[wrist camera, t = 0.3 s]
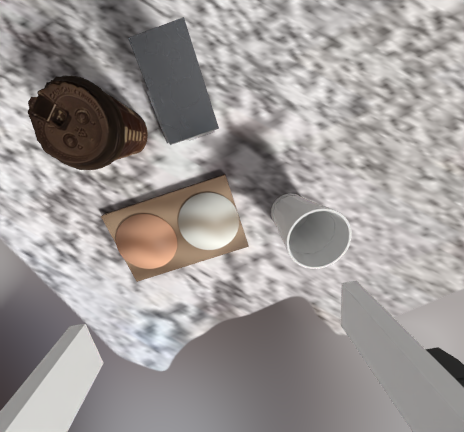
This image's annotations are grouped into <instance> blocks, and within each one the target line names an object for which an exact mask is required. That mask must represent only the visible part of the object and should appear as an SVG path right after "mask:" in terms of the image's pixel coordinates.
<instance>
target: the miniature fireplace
mask: <svg viewBox="0 0 464 432" xmlns="http://www.w3.org/2000/svg"><path fill="white" fill-rule="evenodd" d="M128 39H129V42H130V44H131V47H132V49H133V52H134V54H135V57H136V59H137V62H138V64H139V67H140V70H141V72H142V75H143V77H144V80H145V82H146V85H147V87H148V90H147V94H148V96H149V99H150V101H151V104H152V106H153V109H154V111H155V114H156V116H157V119H158V121H159V124H160V127H161V129H162V132H163V134H164V137H165V139H166V142H167V143H169V144H170V145H172V144H175V143H178V142H181V141H184V140H193V139H196V138H199V137H202V136H205V135H207V134H210V133H213V132H215V131H214V130H216V129H219V127H218V124H217V121H216V118H215V115H214V112H213V108H212V105H211V102H210V99H209V96H208V93H207V89H206V86H205V83H204V80H203V77H202V74H201V70H200V67H199V64H198V61H197V58H196V55H195V51H194V48H193V45H192V42H191V39H190V36H189V32H188V29H187V26H186V23H185V20H184V17H183V18H181V19H178V20H175V21H172V22H170V23H167V24H164V25H162V26H159V27H156V28H154V29H151V30H148V31H145V32H143V33H140V34H137V35H135V36H132V37H129V38H128Z"/></svg>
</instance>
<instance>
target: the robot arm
mask: <svg viewBox="0 0 464 432" xmlns="http://www.w3.org/2000/svg"><path fill="white" fill-rule="evenodd" d="M341 326H342V328H343V329H344V331H345V332H346V334H347V335H348V337H349V338H350V340H351V341H352V343H353V344H354V346H355V347H356V349H357V350H358V352H359V353H360V355H361V356H362V358H363V359H364V361H365V362H366V364H367V365H368V367H369V368H370V370H371V371H372V372H373V374H374V375H375V377H376V378H377V380H378V381H379V383H380V384H381V386H382V387H383V389H384V390H385V392H386V393H387V395H388V396H389V398H390V399H391V401H392V402H393V404H394V405H395V407H396V408H397V410H398V411H399V413H400V414H401V416H402V417H403V419H404V420H405V422H406V423H407V425H408V426H409V428H410V429H411V430H412V432H464V365H463V364H462V363H461V362H460V361H459V360H458V359H456V358H454V357H453V356H451V355H450V354H448V353H446V352H445V351H443V350H441V349H440V348H432V349H424V348H423V347H422V346H421V345H420V344H419V343H418V342H417V341H416V340H415V339H414V338H413V337H412V336H411V335H410V334H409V333H408V332H407V331H406V330H405V329H404V328H403V327H402V326H401V325H400V324H399V323H398V322H397V321H396V320H395V319H394V318H393V317H392V316H391V315H390V314H389V313H388V312H387V311H386V310H385V309H384V308H383V307H382V306H381V305H380V304H379V303H378V302H377V301H376V300H375V299H374V298H373V297H372V296H371V295H370V294H369V293H368V292H367V291H366V290H365V289H364V288H363V287H362V286H361V285H360V284H359V283H358V282H357V281H352V282H346V283H342V294H341ZM102 365H103V361H102V359H101V357H100V355H99V352H98V350H97V348H96V346H95V344H94V342H93V340H92V338H91V335H90V333H89V331H88V329H87V326H86V324H81V325H74V326H70V327H69V328H68V329H67V331H66V332H65V333H64V334H63V335H62V337H61V338H60V339H59V340H58V342H57V343H56V344H55V345H54V346H53V348H52V349H51V350H50V351H49V353H48V354H47V355H46V356H45V357H44V359H43V360H42V361H41V362H40V364H39V365H38V366H37V367H36V369H35V370H34V371H33V372H32V374H31V375H30V376H29V377H28V378H27V380H26V381H25V382H24V383H23V384H22V386H21V387H20V388H19V389H18V391H17V392H16V393H15V394H14V395H13V397H12V398H11V399H10V400H9V402H8V403H7V404H6V405H5V406H4V408H3V409H2V410H1V411H0V432H67V431H68V429H69V427H70V426H71V424H72V422H73V420H74V418H75V416H76V414H77V412H78V410H79V408H80V407H81V405H82V403H83V401H84V399H85V397H86V395H87V393H88V391H89V390H90V388H91V386H92V384H93V382H94V380H95V378H96V376H97V374H98V372H99V371H100V368H101V367H102Z"/></svg>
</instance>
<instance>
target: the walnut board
mask: <svg viewBox="0 0 464 432" xmlns="http://www.w3.org/2000/svg"><path fill="white" fill-rule="evenodd" d="M101 217H102V219H103V221H104V223H105V225H106V226H107V228H108V230H109V232H110V234H111V236H112V237H113V239H114V241H115V243H116V245H117V248H118V250H119V252H120V254H121V255H122V257H123V258H124V259H125V261H126V263H127V265H128V267H129V268H130V270H131V272H132V274H133V276H134V278H135V279H136V281H141V280H144V279H147V278H150V277H153V276H156V275H160V274H163V273H166V272H169V271H172V270H176V269H179V268H182V267H185V266H188V265H191V264H195V263H198V262H201V261H204V260H207V259H210V258H214V257H217V256H220V255H223V254H226V253H230V252H233V251H236V250H239V249H242V248H245V247H249V246H248V242H247V239H246V236H245V233H244V230H243V227H242V224H241V221H240V218H239V215H238V212H237V209H236V206H235V203H234V200H233V197H232V194H231V191H230V188H229V185H228V181H227V178H226V175H225V174H224V175H221V176H218V177H215V178H212V179H209V180H206V181H203V182H200V183H197V184H194V185H191V186H188V187H185V188H182V189H179V190H176V191H173V192H170V193H167V194H164V195H161V196H158V197H155V198H152V199H149V200H146V201H143V202H140V203H137V204H134V205H131V206H128V207H125V208H122V209H119V210H116V211H113V212H110V213H107V214H104V215H102V216H101Z"/></svg>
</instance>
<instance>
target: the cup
mask: <svg viewBox="0 0 464 432" xmlns="http://www.w3.org/2000/svg"><path fill="white" fill-rule="evenodd" d="M271 217H272V220H273V221H274V223H275V225H276V227H277V229H278V231H279V233H280V235H281V238H282V240H283V242H284V244H285V246H286V249H287V251H288V253H289V255H290V257H291V258H292V260H293V261H294V262H295V263H297V264H298V265H300V266H302V267H305V268H309V269H319V268H324V267H327V266H329V265H331V264H333V263H335V262H336V261H338V260H339V259H340V258H341V257H342V256H343V255H344V254H345V252H346V251H347V249H348V247H349V245H350V241H351V227H350V224H349V222H348V220H347V219H346V218H345V216H344V215H342V214H341V213H340V212H338V211H336V210H333V209H330V208H328V207H325V206H322V205H319V204H317V203H314V202H312V201H309V200H307V199H305V198H302V197H301V196H299V195H297V194H292V193H289V194H284V195H282V196H280V197H279V198H278V199H276V201H275V202H274V203H273V205H272V208H271Z"/></svg>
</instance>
